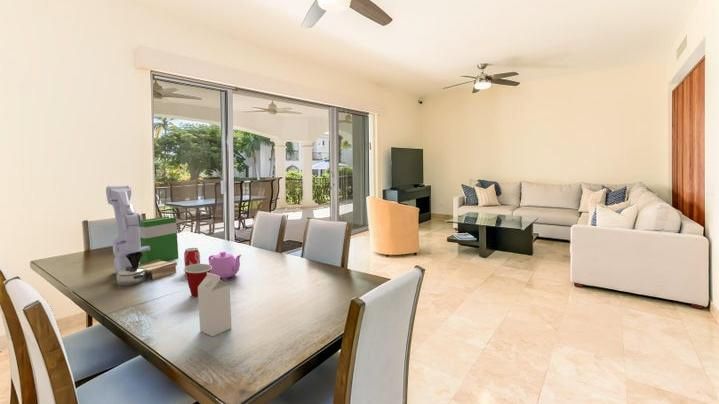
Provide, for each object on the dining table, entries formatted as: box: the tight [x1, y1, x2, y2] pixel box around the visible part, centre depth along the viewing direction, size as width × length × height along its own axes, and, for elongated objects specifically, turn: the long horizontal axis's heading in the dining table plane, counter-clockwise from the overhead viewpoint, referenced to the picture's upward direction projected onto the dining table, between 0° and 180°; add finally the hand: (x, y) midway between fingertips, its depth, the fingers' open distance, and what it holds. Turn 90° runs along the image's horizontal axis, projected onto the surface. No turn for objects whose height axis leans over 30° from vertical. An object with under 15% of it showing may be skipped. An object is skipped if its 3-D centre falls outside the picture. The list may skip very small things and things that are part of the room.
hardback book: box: [139, 216, 179, 265], centre depth 197 cm, size 18×7×24 cm, turn 151°
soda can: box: [183, 247, 201, 267], centre depth 176 cm, size 7×7×12 cm
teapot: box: [208, 251, 242, 282], centre depth 168 cm, size 20×14×12 cm
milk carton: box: [197, 272, 233, 338], centre depth 115 cm, size 7×7×19 cm
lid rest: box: [138, 259, 178, 280], centre depth 174 cm, size 13×13×5 cm
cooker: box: [115, 271, 147, 287], centre depth 163 cm, size 15×11×4 cm
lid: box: [118, 266, 145, 275], centre depth 163 cm, size 11×11×2 cm
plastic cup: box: [183, 263, 212, 298], centre depth 146 cm, size 11×11×12 cm
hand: (135, 268), depth 164 cm, fingers closed
